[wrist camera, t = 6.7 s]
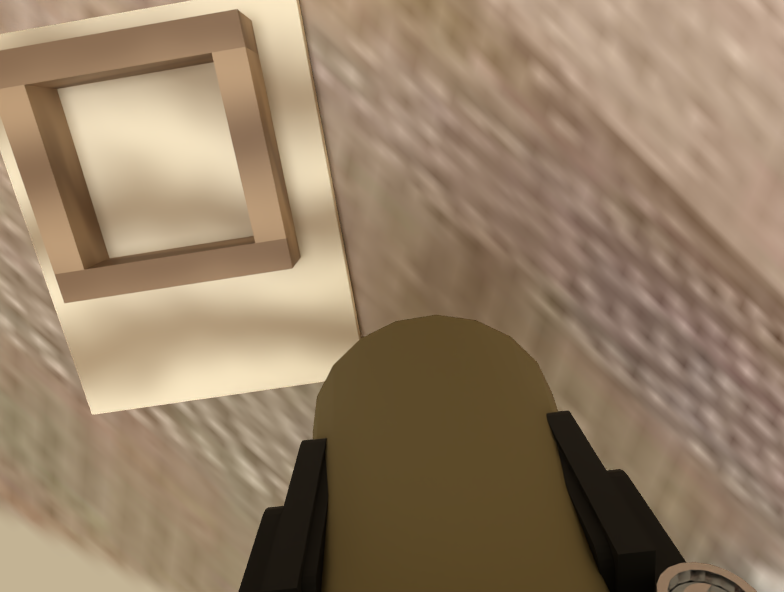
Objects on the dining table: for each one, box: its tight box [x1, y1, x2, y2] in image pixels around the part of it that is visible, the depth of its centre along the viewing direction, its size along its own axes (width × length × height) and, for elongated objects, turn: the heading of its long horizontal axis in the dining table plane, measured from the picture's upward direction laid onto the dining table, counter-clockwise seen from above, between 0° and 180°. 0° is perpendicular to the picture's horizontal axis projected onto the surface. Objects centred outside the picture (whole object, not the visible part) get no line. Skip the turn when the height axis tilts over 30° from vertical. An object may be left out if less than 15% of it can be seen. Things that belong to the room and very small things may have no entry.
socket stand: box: [0, 0, 361, 415], centre depth 28 cm, size 20×16×4 cm
